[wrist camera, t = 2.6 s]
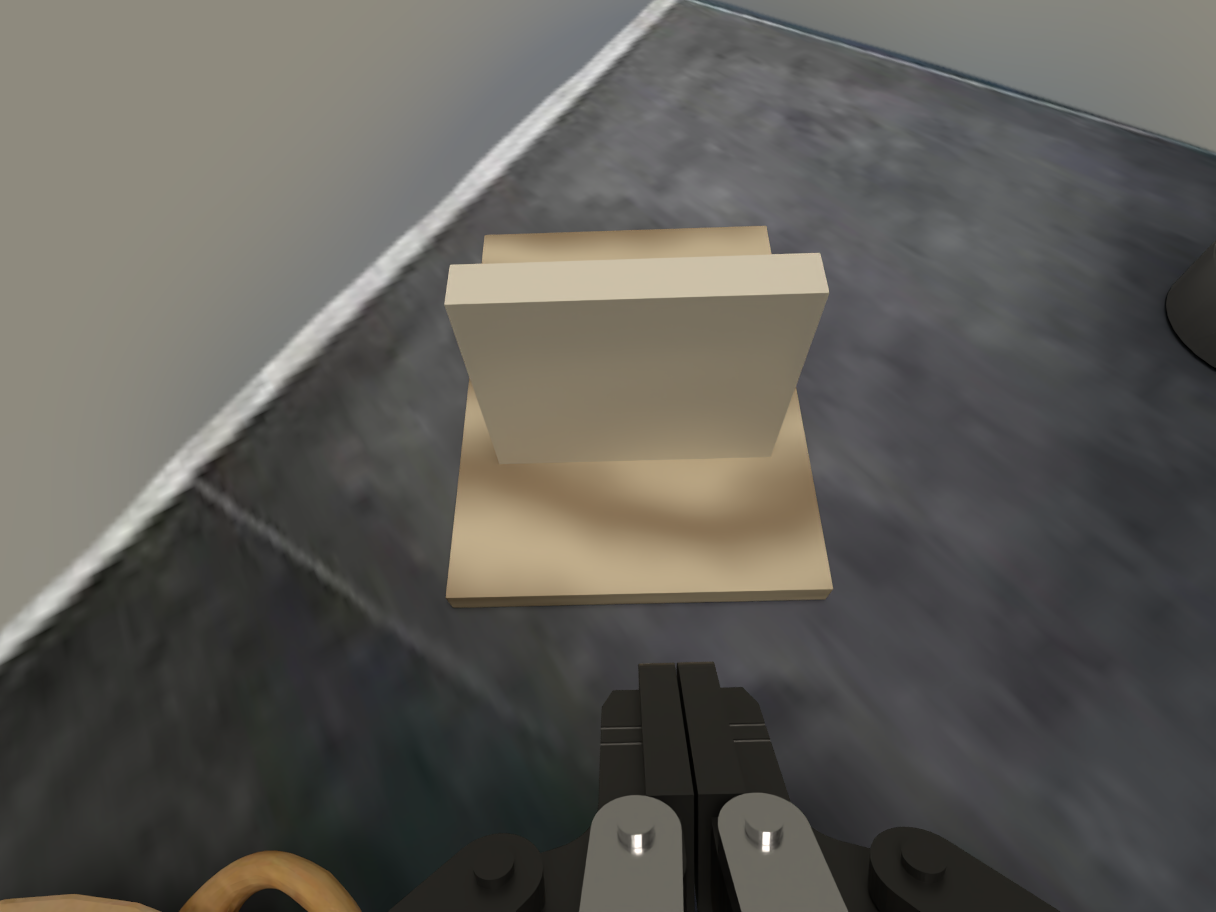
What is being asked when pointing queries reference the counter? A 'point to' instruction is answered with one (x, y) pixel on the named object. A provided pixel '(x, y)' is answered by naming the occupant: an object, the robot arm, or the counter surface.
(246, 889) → the ceramic bowl
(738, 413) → the tile
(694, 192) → the counter surface
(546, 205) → the counter surface
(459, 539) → the board
